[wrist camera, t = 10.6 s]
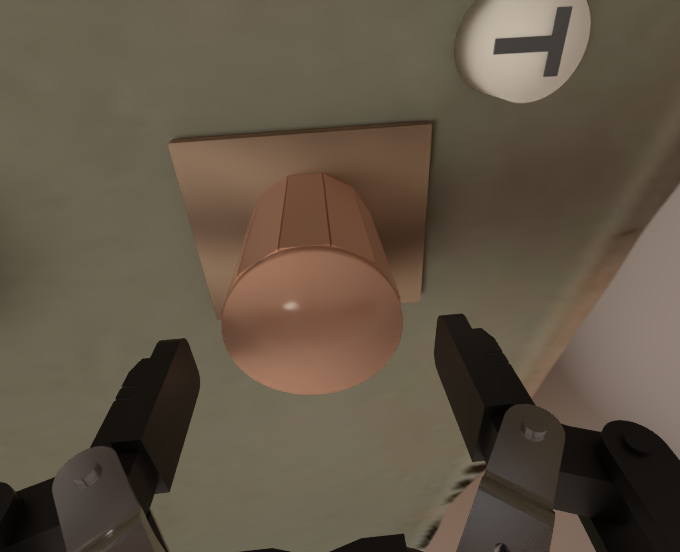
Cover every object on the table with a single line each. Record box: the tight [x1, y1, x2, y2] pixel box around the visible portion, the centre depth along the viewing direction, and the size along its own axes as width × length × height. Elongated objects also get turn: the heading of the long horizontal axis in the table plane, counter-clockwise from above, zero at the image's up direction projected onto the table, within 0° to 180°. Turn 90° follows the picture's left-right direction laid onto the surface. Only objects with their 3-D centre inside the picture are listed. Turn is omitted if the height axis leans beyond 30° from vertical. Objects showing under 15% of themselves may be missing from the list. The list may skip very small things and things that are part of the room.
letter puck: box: [454, 0, 591, 103], centre depth 16 cm, size 4×4×3 cm
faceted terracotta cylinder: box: [221, 173, 403, 395], centre depth 17 cm, size 6×6×8 cm
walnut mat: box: [168, 121, 432, 320], centre depth 20 cm, size 10×12×1 cm
